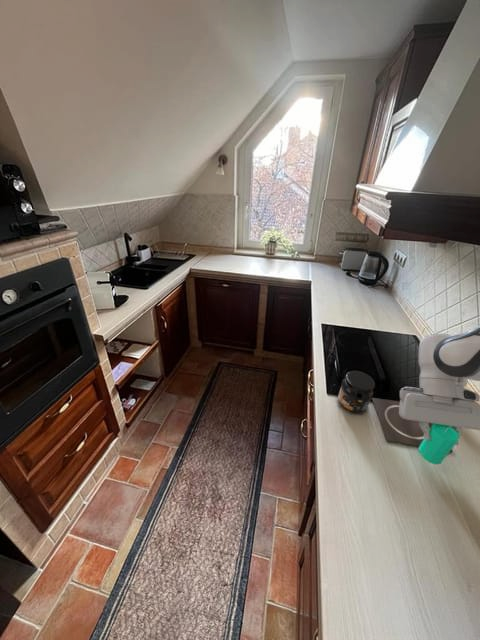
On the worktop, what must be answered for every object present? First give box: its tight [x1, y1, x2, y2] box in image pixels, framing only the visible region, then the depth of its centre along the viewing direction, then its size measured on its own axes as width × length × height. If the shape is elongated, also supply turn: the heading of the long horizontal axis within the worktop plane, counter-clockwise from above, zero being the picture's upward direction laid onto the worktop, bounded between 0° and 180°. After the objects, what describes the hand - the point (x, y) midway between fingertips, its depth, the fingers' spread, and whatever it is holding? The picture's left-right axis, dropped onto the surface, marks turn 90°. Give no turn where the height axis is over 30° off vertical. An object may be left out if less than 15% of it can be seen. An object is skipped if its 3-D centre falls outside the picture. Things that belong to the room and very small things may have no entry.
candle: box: [417, 424, 461, 465], centre depth 70 cm, size 6×6×12 cm
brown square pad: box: [371, 397, 453, 453], centre depth 87 cm, size 19×18×1 cm
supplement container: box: [337, 370, 376, 415], centre depth 91 cm, size 10×10×12 cm
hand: (441, 442), depth 69 cm, fingers closed on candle, 5 cm apart
